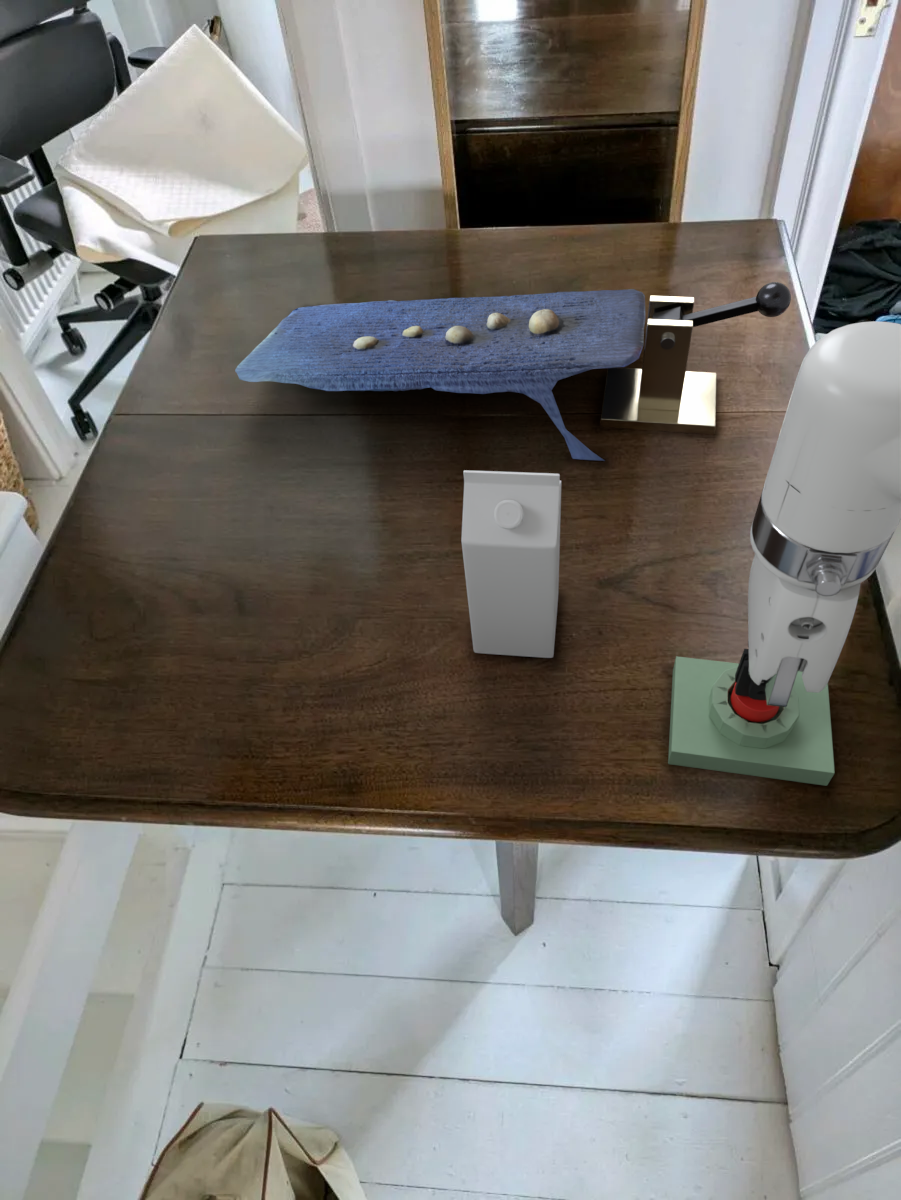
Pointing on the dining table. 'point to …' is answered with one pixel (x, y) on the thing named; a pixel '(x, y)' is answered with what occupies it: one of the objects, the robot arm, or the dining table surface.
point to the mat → (456, 345)
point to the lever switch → (737, 307)
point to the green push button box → (747, 728)
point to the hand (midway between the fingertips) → (755, 688)
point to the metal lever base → (662, 380)
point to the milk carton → (512, 560)
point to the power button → (752, 708)
